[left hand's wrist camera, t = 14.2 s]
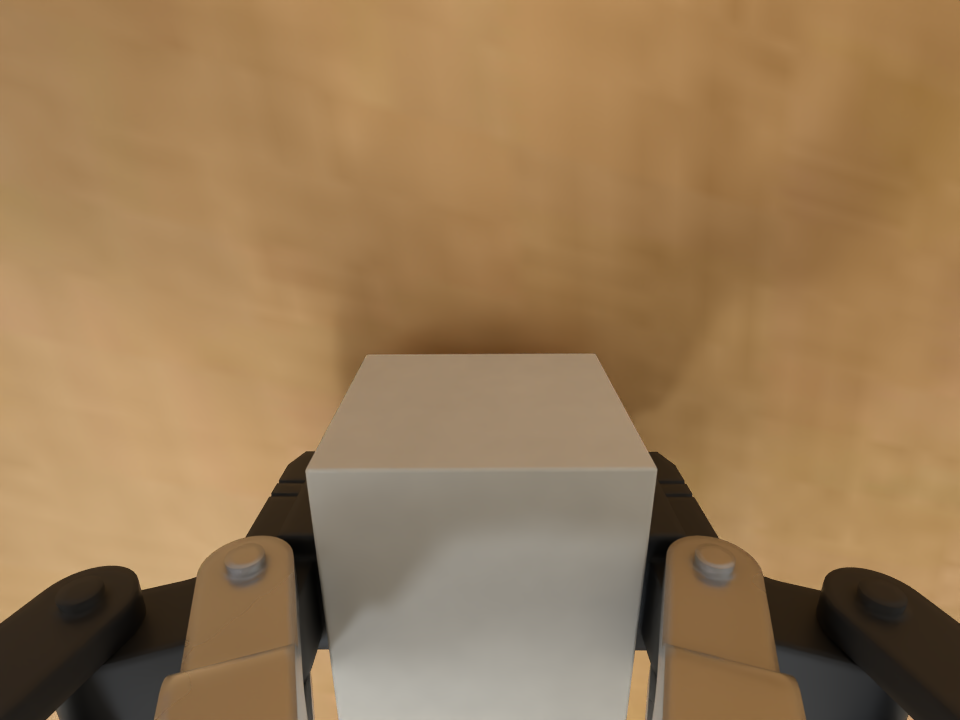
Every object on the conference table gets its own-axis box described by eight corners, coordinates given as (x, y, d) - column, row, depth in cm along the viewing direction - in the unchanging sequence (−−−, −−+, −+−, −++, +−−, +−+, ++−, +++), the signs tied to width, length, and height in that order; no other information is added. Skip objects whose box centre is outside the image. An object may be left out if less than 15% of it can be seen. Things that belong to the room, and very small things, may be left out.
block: (581, 545, 13) (626, 725, 9) (381, 546, 13) (338, 726, 9) (595, 352, 12) (659, 469, 8) (365, 353, 12) (303, 469, 8)
